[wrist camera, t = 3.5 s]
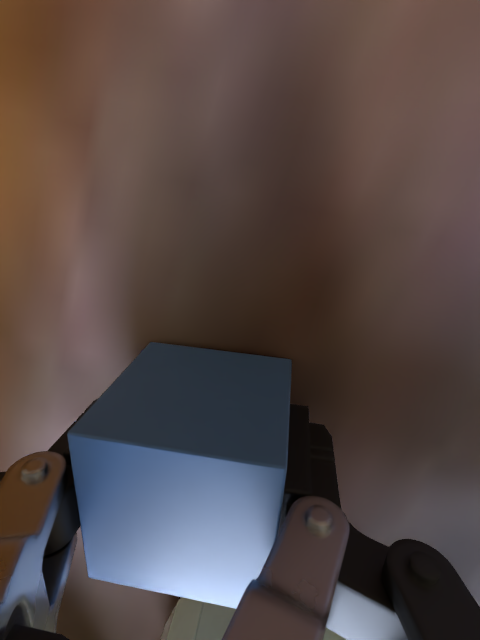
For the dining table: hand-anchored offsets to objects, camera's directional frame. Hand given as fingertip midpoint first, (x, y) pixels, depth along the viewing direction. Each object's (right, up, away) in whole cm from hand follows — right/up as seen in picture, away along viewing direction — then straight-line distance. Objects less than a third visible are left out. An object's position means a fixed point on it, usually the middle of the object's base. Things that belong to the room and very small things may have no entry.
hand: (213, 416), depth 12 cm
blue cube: (0, 0, 0) cm, 0 cm away
